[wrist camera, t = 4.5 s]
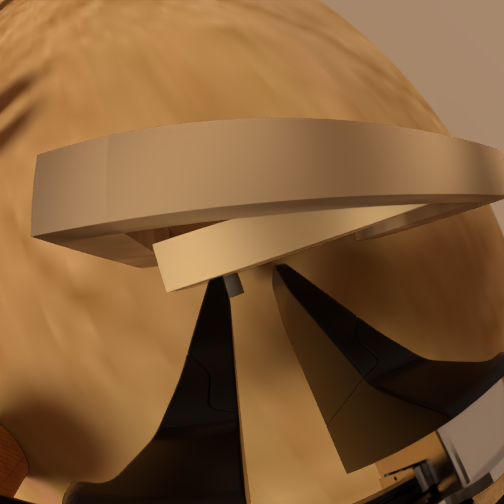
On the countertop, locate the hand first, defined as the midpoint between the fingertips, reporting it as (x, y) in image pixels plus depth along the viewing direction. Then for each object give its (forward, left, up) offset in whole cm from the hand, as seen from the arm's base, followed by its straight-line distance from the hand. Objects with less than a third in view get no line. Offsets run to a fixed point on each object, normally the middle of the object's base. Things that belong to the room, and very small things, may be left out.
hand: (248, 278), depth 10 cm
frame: (+4, 0, -7) cm, 8 cm away
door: (+3, -1, -7) cm, 7 cm away
